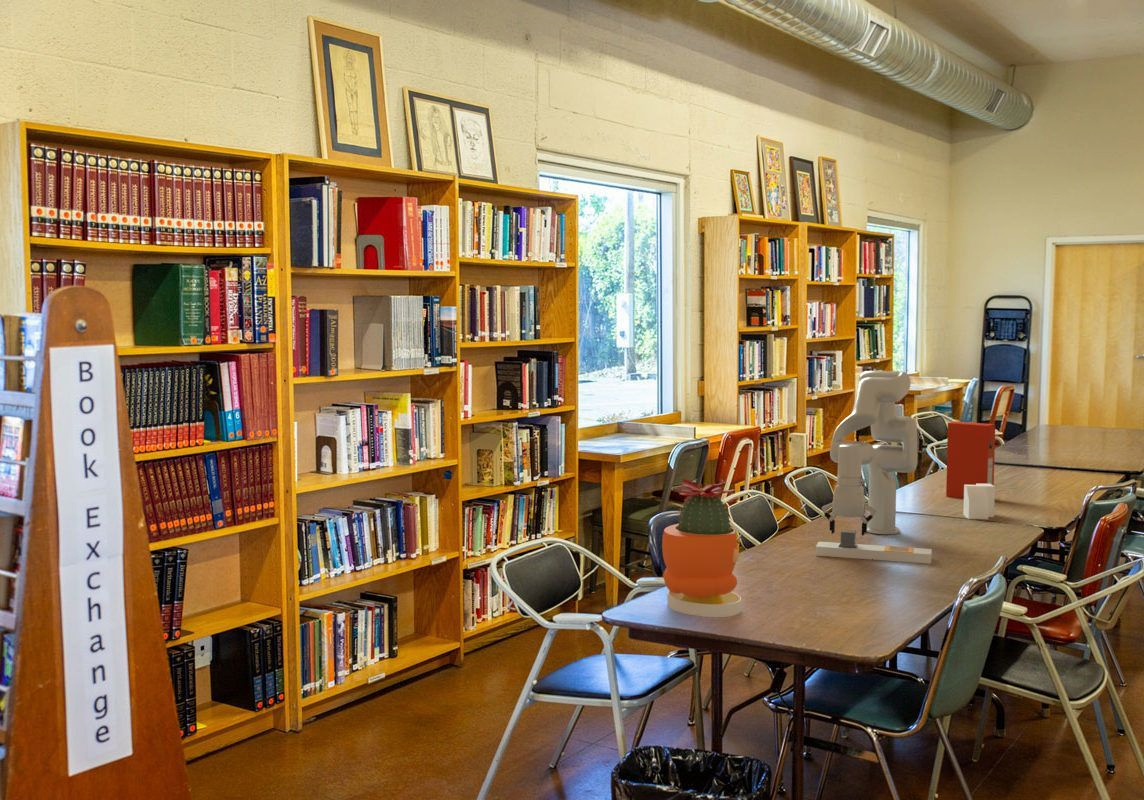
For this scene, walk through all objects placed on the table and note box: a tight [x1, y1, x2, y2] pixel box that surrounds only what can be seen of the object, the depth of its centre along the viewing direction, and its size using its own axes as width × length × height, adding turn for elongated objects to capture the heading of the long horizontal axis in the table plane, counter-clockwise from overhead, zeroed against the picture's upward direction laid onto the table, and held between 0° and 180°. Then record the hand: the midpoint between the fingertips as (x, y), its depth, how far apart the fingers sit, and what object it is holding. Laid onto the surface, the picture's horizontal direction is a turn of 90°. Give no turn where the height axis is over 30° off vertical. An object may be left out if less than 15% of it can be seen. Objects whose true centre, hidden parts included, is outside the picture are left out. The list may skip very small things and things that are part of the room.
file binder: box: [945, 421, 996, 500], centre depth 463 cm, size 8×17×32 cm, turn 47°
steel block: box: [840, 529, 857, 548], centre depth 357 cm, size 4×4×8 cm
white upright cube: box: [962, 483, 996, 520], centre depth 423 cm, size 11×11×12 cm
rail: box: [815, 541, 933, 565], centre depth 355 cm, size 8×36×3 cm, turn 71°
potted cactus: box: [661, 479, 742, 618], centre depth 292 cm, size 22×22×35 cm
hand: (848, 533), depth 356 cm, fingers open, 9 cm apart
